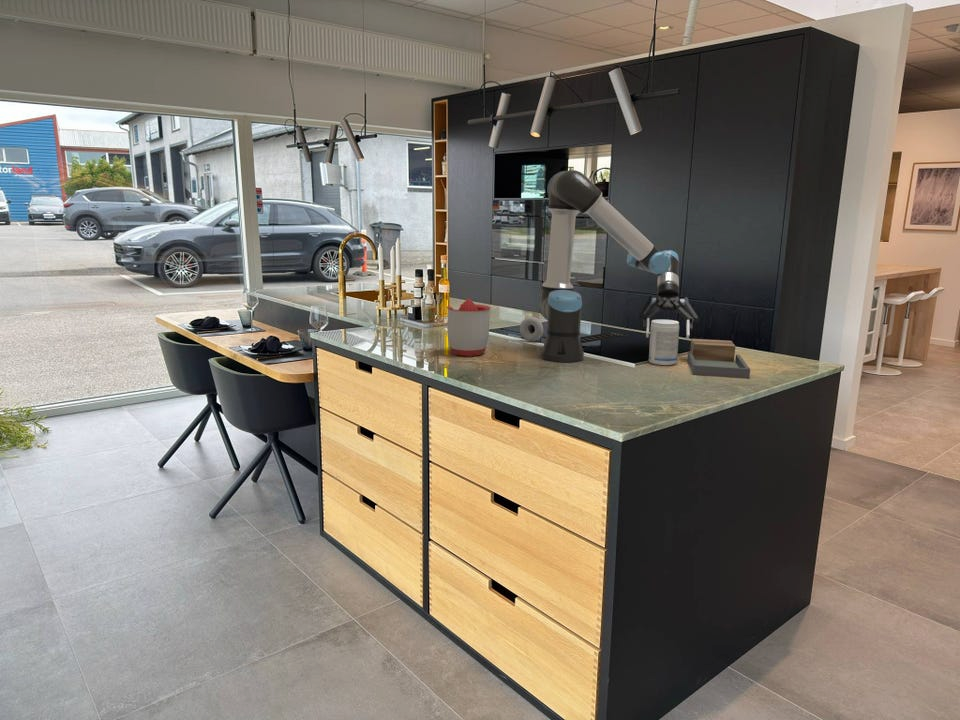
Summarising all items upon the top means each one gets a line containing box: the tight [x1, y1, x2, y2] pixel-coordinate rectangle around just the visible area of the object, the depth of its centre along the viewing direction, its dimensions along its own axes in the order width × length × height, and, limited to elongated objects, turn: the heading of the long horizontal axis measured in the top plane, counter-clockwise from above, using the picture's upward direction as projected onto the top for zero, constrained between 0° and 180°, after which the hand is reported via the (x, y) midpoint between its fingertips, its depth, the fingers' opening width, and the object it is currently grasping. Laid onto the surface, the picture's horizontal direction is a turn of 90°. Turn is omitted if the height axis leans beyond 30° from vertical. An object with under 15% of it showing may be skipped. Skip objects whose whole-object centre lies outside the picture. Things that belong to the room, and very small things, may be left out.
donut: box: [519, 316, 544, 343], centre depth 268 cm, size 10×3×10 cm, turn 60°
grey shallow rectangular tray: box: [686, 351, 751, 379], centre depth 229 cm, size 22×17×3 cm
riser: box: [689, 338, 736, 362], centre depth 243 cm, size 10×14×6 cm
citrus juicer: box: [446, 298, 491, 357], centre depth 244 cm, size 16×17×20 cm
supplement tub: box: [648, 319, 680, 366], centre depth 234 cm, size 10×10×15 cm
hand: (667, 336), depth 236 cm, fingers open, 13 cm apart
